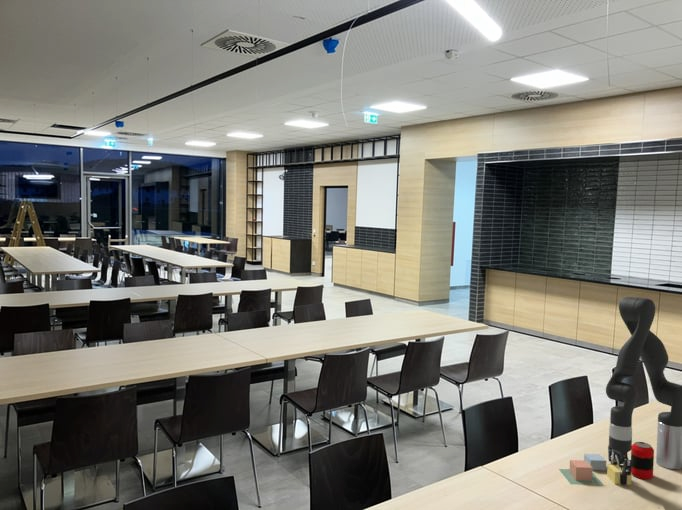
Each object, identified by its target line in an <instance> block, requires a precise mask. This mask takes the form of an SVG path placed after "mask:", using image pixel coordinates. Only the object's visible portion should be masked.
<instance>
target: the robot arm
mask: <svg viewBox="0 0 682 510" xmlns="http://www.w3.org/2000/svg"><path fill="white" fill-rule="evenodd" d="M620 299H621V300H620V301H619V304H618V310H619V315H620V317H621V319H622V322H623V323H624V324H625V325H624V326H626V328H627V330H628V331H629V333H630V335H631V336H630V337H629V339H628V340H627V341H625V343H624V344H623V345H622V347H621V348H620V350H619V352H618V355H617V359H616V364H615V365H616V366H615V369H614V371H613V373H612V375H611V377H610V378H609V381H608V382H607V385H606V387H605V393H606V397H608V398H609V399H610V400H612V401H618V402H620V403H623V405H622V406H620V405H616V406H612V407H611V408H610V417H609V418H610V419H609V422H610V423H609V428H608V446H607V452H608V462H609V463H610V465H618V468H619V469H620V483H621V484H620V485H625V486H627V485H626V484H627V475H631V470H632V460H631V459H629V456H628V455H629V454H628V453H629V452H631V449H632V445H633V426H632V423H633V412H634V409H635V407H636V403H637V401H638V398H639V391H638V388H637V387H636V386H635V385H634V384H631V383H627V382H622V381H624V379H626V378H627V379H628V378H629V379H630V378H631V379H632V378H636V377H637V373H638V368H639V365H640V364H639V363H640V359H641V361H642V364H643V365H644V368H645V371H646V373H647V376H648V380H649V382H650V386H651V390H652V393H653V396H654V398H655V400H656V401H657V402H658V403H660V404H663V405H666V406H668V407H671V408H670V411H662V412H658V413H659V414H658V415H657V435H656V453H655V454H656V456H655V461H656V464H657V465H659V466H660V467H663V468H666V469H670V470H682V384H679V383H675V382H671V381H669V380H668V379H667V378H666V376H665V373H664V371H665V369H666V368H667V366H668V363H669V354H668V352H667V349H666V346H665V344H664V343H663V342H662V340H661V339H660V337H659V336H657V335H656V334H654V333H653V332H652V331H651V327H652V324H653V322H654V319H655V315H656V304H655V302H654V301H653V300H652V299H650V298H645V297H634V296H627V297H623V298H620ZM622 465H623V466H622ZM622 468H623V470H622Z"/></svg>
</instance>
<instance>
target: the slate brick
mask: <svg viewBox="0 0 682 510" xmlns="http://www.w3.org/2000/svg"><path fill="white" fill-rule="evenodd" d="M583 460H584V461H587V462H588V463H589V464H590V465H591V467H592V468H593V471H607V459H605V458H604V457H603V456H602V455H601V454H600V453H583Z"/></svg>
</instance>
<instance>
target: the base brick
mask: <svg viewBox="0 0 682 510" xmlns="http://www.w3.org/2000/svg"><path fill="white" fill-rule="evenodd" d="M569 469H570V474H571V475H572V476H573V478H574V479H575V480H581V481H592V472H593V471H594V470H593V468H592V467H591V465H590V464H589V463H588V462H587V461H584V459H582V460H580V459H579V460H578V459H575V460H574V459H569Z"/></svg>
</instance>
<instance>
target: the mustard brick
mask: <svg viewBox="0 0 682 510" xmlns="http://www.w3.org/2000/svg"><path fill="white" fill-rule="evenodd" d="M621 465H622V466H623V464H621ZM622 470H623V468H622ZM606 471H607V473H606V477H607V478H608V479H609V480H610V481H611V482H612V483H613V484H614V485H622V484H621V483H620V469H619V468H618V465H611V464H606ZM632 477H633V475H632V472H631V475H627V484H626V485H625V486H627V485H629V486H630V485H632Z"/></svg>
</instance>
